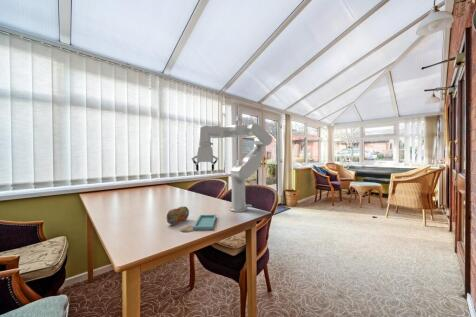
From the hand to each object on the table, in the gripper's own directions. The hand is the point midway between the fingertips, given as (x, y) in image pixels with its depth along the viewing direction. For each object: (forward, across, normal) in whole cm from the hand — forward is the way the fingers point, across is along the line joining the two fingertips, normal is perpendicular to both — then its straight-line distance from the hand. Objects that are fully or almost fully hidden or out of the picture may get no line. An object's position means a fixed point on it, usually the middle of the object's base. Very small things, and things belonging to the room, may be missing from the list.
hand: (205, 170), depth 134 cm
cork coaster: (+28, +5, +28) cm, 40 cm away
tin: (+29, +13, +16) cm, 36 cm away
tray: (+28, -3, +19) cm, 34 cm away
